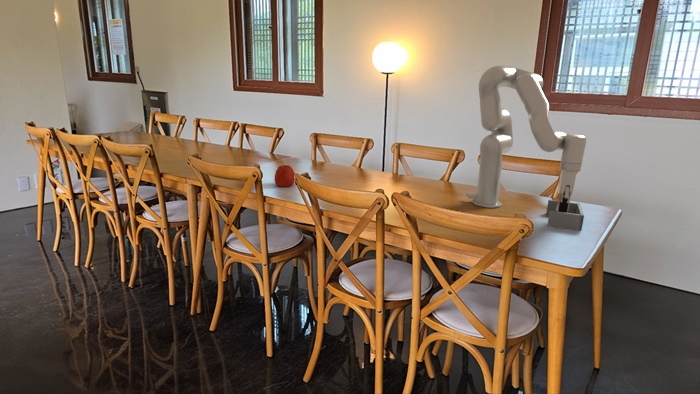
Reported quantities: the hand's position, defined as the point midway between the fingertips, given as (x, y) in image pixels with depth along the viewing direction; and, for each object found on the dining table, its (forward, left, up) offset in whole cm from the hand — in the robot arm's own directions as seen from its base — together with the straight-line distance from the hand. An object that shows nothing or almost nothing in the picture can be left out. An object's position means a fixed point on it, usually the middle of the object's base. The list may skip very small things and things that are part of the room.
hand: (562, 209), depth 179 cm
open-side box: (+1, 0, -5) cm, 5 cm away
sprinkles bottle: (0, 0, -4) cm, 4 cm away
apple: (-126, -3, -5) cm, 126 cm away
